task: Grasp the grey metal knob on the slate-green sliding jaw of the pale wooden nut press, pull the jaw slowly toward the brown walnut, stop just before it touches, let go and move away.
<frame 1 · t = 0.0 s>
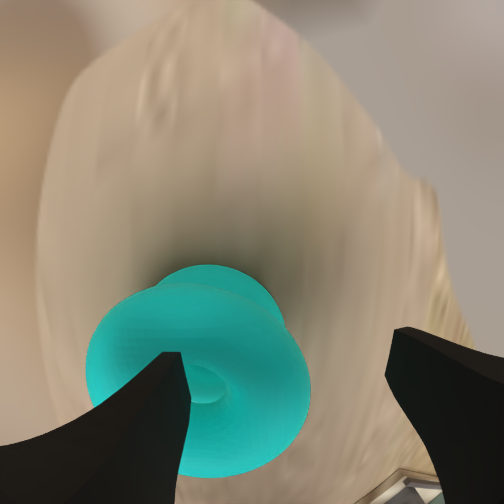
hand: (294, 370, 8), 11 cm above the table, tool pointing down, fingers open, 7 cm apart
donuts: (212, 331, 19), on the table
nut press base: (408, 501, 21), on the table
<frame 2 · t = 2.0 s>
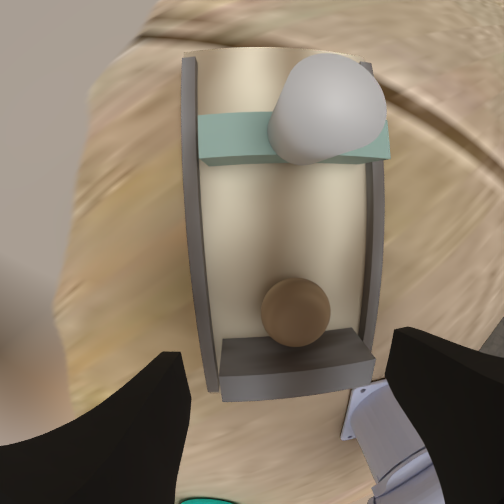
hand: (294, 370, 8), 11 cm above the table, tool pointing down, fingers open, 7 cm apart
hip flask: (481, 355, 22), on the table
walnut: (295, 312, 15), point 3 cm above the table, touching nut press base
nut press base: (285, 227, 18), on the table
sliding jaw: (303, 130, 11), point 6 cm above the table, slide at 0.0 cm
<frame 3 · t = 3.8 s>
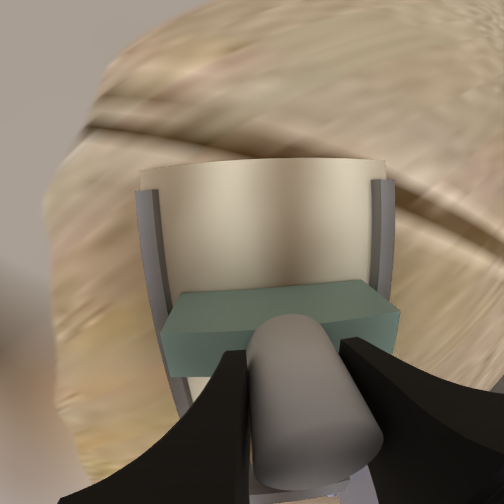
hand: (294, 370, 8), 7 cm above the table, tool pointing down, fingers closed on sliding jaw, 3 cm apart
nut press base: (273, 366, 16), on the table
sliding jaw: (290, 358, 9), point 6 cm above the table, slide at 0.0 cm, touching gripper
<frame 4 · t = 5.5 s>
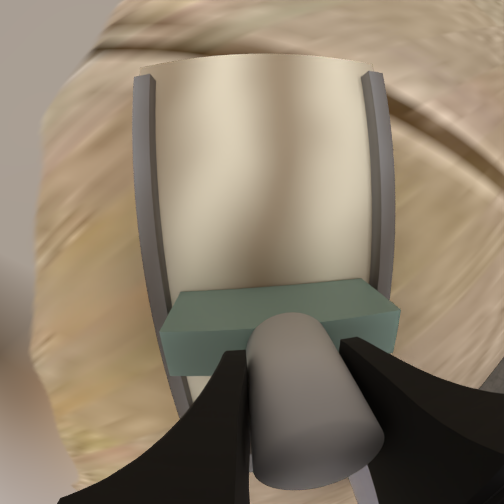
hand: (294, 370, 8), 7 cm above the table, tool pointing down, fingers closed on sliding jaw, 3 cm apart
hip flask: (484, 387, 19), on the table
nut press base: (270, 285, 15), on the table
sliding jaw: (290, 357, 9), point 6 cm above the table, slide at 5.4 cm, touching gripper
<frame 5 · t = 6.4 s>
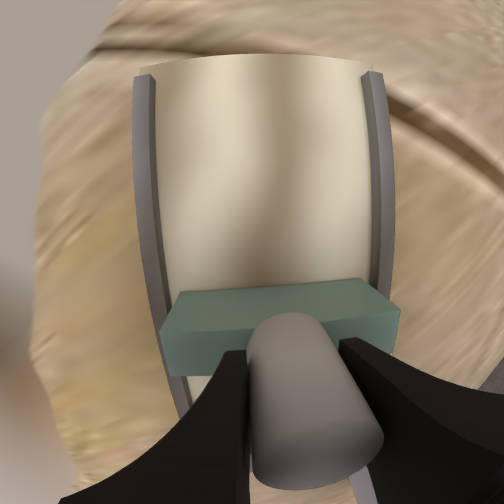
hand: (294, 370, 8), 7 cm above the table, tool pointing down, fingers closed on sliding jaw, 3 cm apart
hip flask: (484, 387, 19), on the table
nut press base: (270, 285, 15), on the table
sliding jaw: (290, 357, 9), point 6 cm above the table, slide at 5.4 cm, touching gripper
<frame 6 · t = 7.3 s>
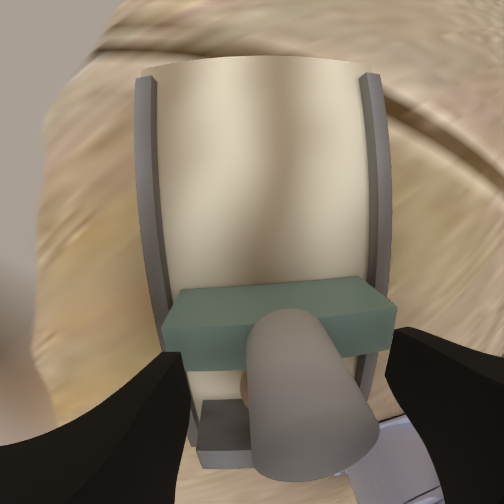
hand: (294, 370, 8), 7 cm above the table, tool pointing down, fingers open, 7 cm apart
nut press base: (269, 283, 15), on the table
sliding jaw: (288, 352, 9), point 6 cm above the table, slide at 5.4 cm
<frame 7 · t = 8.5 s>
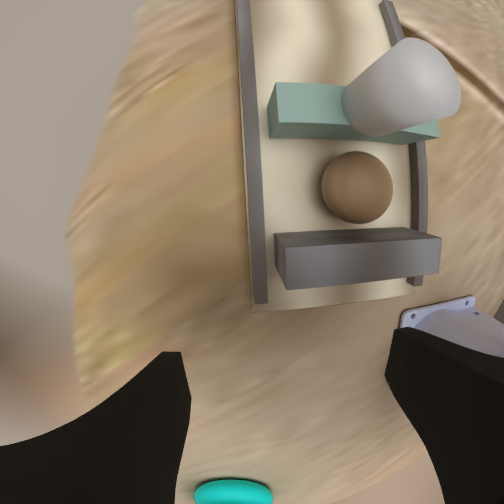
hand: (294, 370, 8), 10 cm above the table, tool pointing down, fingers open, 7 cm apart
walnut: (357, 187, 14), point 3 cm above the table, touching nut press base
donuts: (233, 490, 25), on the table
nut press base: (332, 123, 16), on the table
sliding jaw: (374, 105, 10), point 6 cm above the table, slide at 5.4 cm
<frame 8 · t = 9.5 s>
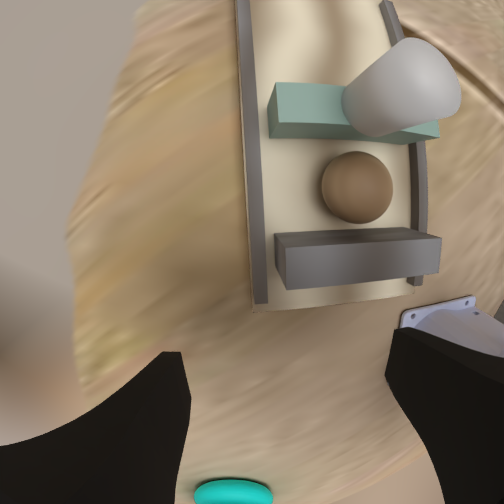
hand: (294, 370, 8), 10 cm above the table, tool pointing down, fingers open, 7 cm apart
walnut: (357, 187, 14), point 3 cm above the table, touching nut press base
donuts: (233, 490, 25), on the table
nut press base: (332, 123, 16), on the table
sliding jaw: (374, 105, 10), point 6 cm above the table, slide at 5.4 cm
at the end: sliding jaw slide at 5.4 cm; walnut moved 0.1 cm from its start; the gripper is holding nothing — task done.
